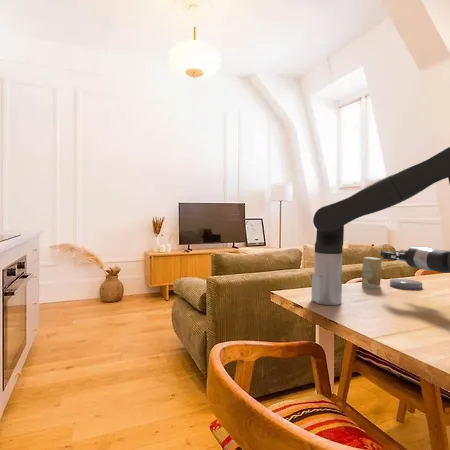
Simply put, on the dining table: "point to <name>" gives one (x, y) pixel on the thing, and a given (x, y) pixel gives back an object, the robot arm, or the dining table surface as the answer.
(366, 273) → the skincare box
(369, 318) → the dining table surface
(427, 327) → the dining table surface
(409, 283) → the stand
